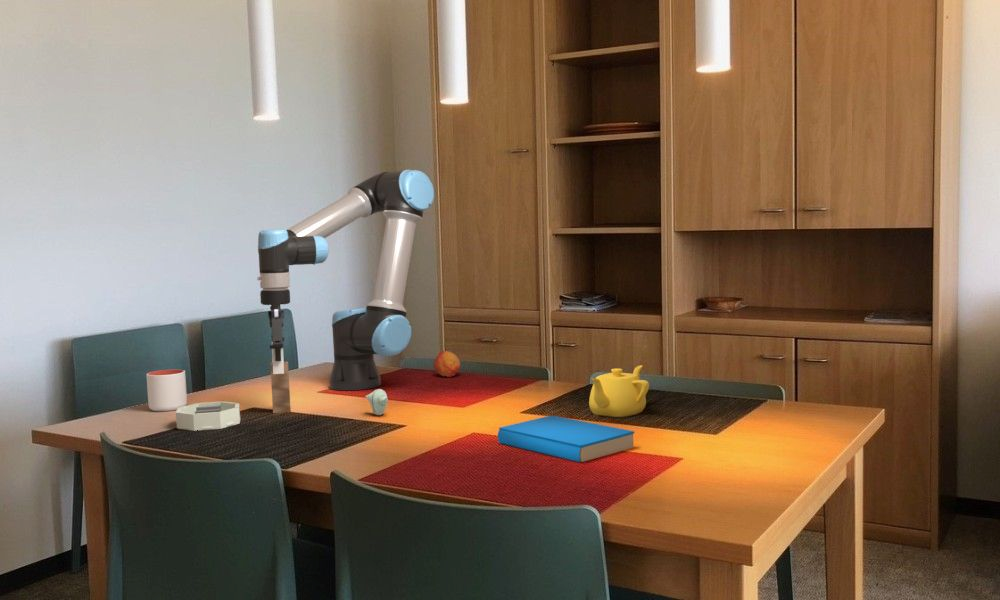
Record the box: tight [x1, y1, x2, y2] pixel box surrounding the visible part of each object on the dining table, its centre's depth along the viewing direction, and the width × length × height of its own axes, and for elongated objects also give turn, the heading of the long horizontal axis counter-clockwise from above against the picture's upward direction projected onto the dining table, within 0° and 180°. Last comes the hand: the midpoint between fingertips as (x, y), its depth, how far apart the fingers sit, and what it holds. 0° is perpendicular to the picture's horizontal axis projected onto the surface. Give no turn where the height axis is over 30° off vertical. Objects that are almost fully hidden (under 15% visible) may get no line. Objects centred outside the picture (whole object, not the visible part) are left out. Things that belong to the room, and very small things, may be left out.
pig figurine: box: [365, 388, 389, 416], centre depth 251 cm, size 8×4×7 cm, turn 43°
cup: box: [146, 368, 188, 412], centre depth 269 cm, size 10×10×10 cm
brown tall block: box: [270, 361, 291, 414], centre depth 259 cm, size 4×2×13 cm, turn 104°
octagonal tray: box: [175, 400, 241, 432], centre depth 248 cm, size 15×15×4 cm
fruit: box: [433, 350, 461, 378], centre depth 305 cm, size 8×8×8 cm
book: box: [497, 415, 635, 463], centre depth 213 cm, size 17×4×25 cm
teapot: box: [588, 365, 650, 418], centre depth 244 cm, size 22×16×11 cm
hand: (278, 370), depth 258 cm, fingers open, 13 cm apart
